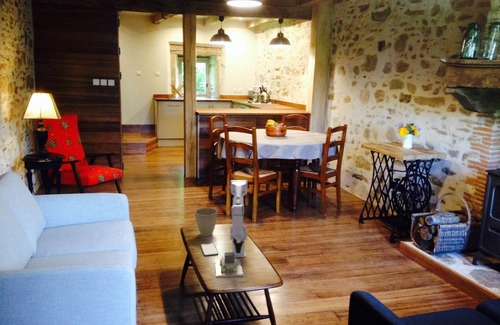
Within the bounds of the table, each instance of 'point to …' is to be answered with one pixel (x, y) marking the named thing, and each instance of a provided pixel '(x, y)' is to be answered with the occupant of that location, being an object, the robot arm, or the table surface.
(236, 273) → the plate
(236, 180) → the robot arm
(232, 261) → the green and grey block
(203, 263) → the table surface
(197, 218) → the plant pot
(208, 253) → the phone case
